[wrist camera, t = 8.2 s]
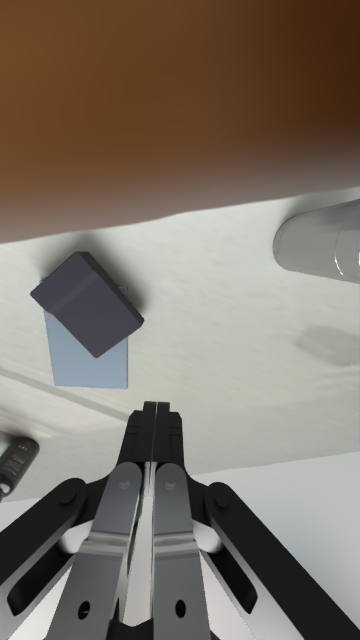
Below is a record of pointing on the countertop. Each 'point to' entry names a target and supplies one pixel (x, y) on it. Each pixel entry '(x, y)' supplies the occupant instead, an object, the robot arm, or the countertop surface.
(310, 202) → the countertop surface
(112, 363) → the mat
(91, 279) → the dark grey boxy piece
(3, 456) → the supplement bottle
